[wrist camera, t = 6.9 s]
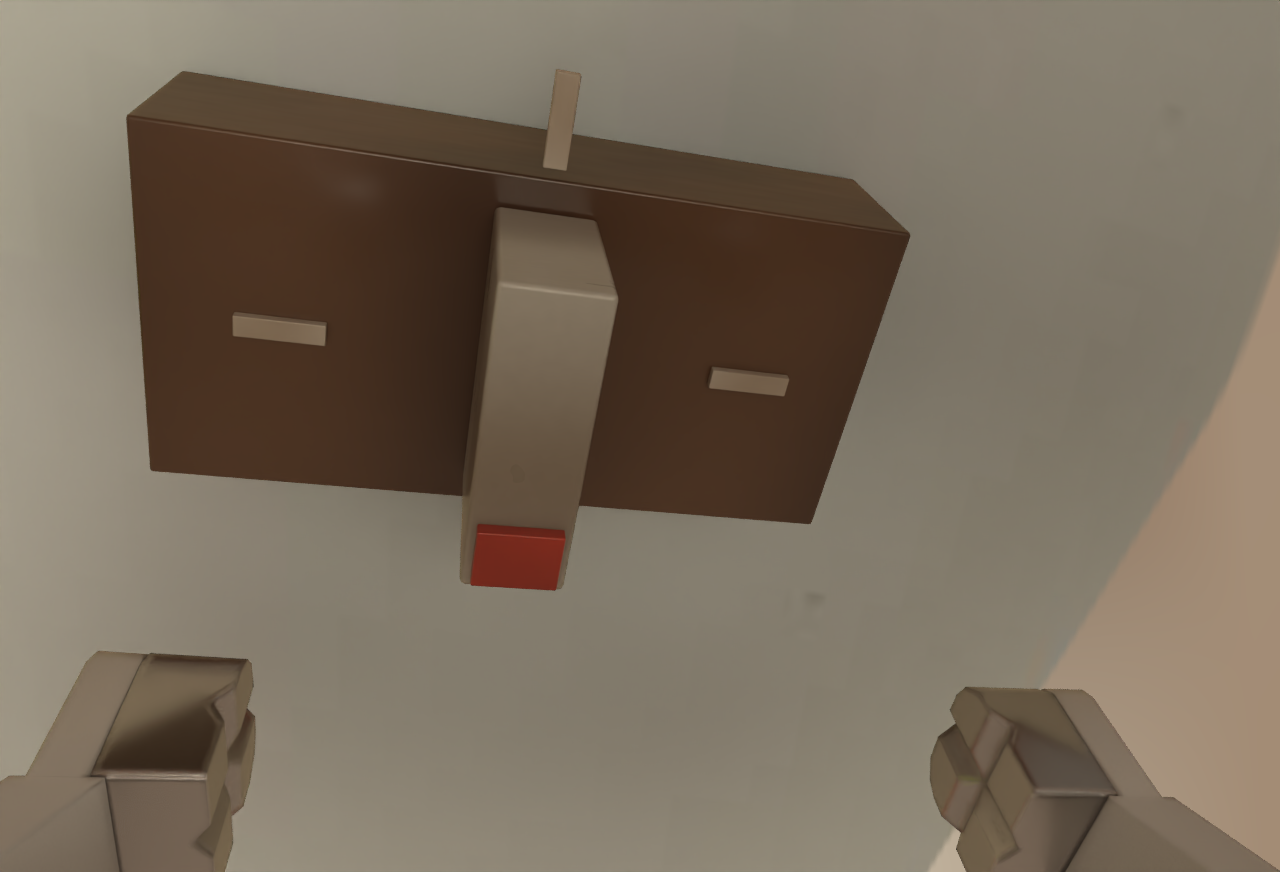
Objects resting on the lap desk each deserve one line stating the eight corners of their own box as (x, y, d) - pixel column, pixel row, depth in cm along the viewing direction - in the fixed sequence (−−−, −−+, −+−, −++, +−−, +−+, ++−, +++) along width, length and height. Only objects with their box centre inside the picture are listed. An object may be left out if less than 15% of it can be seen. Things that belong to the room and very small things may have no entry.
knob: (495, 204, 15) (497, 288, 12) (598, 219, 15) (622, 304, 13) (462, 475, 17) (458, 596, 15) (552, 483, 18) (563, 602, 15)
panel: (880, 93, 18) (949, 140, 15) (756, 503, 22) (791, 593, 20) (176, -36, 15) (112, -7, 13) (197, 455, 20) (152, 552, 17)
